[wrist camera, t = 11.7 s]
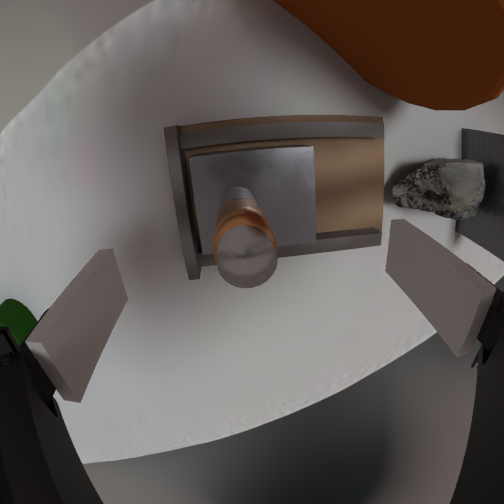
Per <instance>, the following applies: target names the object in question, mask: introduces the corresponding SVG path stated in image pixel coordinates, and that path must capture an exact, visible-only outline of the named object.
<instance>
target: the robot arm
mask: <svg viewBox="0 0 504 504" xmlns="http://www.w3.org/2000/svg"><path fill="white" fill-rule="evenodd" d="M385 271H386V272H387V273H388V274H389V275H390V277H391V278H392V279H393V280H394V281H395V282H396V283H397V284H398V286H399V287H400V288H401V289H402V290H403V291H404V292H405V294H406V295H407V296H408V297H409V298H410V299H411V300H412V302H413V303H414V304H415V305H416V306H417V308H418V309H419V310H420V311H421V312H422V313H423V315H424V316H425V317H426V318H427V320H428V321H429V322H430V323H431V324H432V326H433V327H434V328H435V329H436V331H437V332H438V333H439V334H440V335H441V337H442V338H443V339H444V341H445V342H446V343H447V345H448V346H449V347H450V348H451V350H452V351H453V352H454V353H455V355H456V356H457V357H460V356H462V355H465V354H467V353H469V352H471V351H472V349H473V347H474V345H475V342H476V340H477V339H478V340H479V341H480V342H481V346H480V349H479V351H478V353H477V355H476V357H475V359H474V361H473V363H472V365H471V367H474V365H475V363H477V362H478V366H477V369H478V370H477V383H476V393H475V401H474V409H473V416H472V422H471V428H470V433H469V438H468V443H467V448H466V452H465V456H464V460H463V464H462V468H461V471H460V475H459V479H458V482H457V484H456V488H455V491H454V494H453V497H452V499H451V502H450V504H504V292H501V291H500V290H499V289H498V288H497V287H495V286H494V285H493V284H492V283H491V282H490V281H489V280H487V279H486V278H485V277H482V275H481V274H480V273H479V272H476V270H475V269H474V268H472V267H471V266H470V265H469V264H467V263H465V262H464V261H462V260H461V259H460V258H458V257H457V256H456V255H454V254H453V253H452V252H450V251H449V250H448V249H446V248H445V247H444V246H442V245H441V244H439V243H438V242H437V241H435V240H434V239H432V238H431V237H430V236H428V235H427V234H425V233H424V232H422V231H421V230H420V229H418V228H417V227H415V226H414V225H412V224H411V223H409V222H408V221H406V220H405V219H397V220H391V226H390V237H389V246H388V255H387V263H386V270H385ZM127 300H128V297H127V294H126V291H125V288H124V285H123V282H122V279H121V276H120V272H119V269H118V266H117V263H116V259H115V256H114V252H113V249H106V250H99V251H98V252H97V253H96V254H95V255H94V256H93V257H92V259H91V260H90V261H89V262H88V263H87V264H86V265H85V266H84V268H83V269H82V270H81V271H80V272H79V273H78V274H77V276H76V277H75V278H74V279H73V280H72V281H71V283H70V284H69V285H68V286H67V287H66V289H65V290H64V291H63V292H62V294H61V295H60V296H59V297H58V298H57V300H56V301H55V302H54V303H53V305H52V306H51V307H50V308H49V309H47V310H46V311H45V312H44V314H43V315H42V316H41V318H40V320H38V322H37V323H36V324H35V327H33V328H32V330H31V331H30V332H29V334H28V335H27V336H26V338H25V339H24V341H23V342H22V343H21V345H20V346H19V345H18V344H17V342H16V340H15V338H14V337H13V335H12V333H11V331H10V329H9V328H8V327H6V326H1V327H0V504H103V502H102V500H101V499H100V497H99V495H98V493H97V492H96V490H95V488H94V486H93V484H92V482H91V481H90V479H89V477H88V475H87V473H86V471H85V469H84V467H83V465H82V463H81V461H80V458H79V456H78V454H77V452H76V450H75V447H74V445H73V443H72V440H71V438H70V436H69V433H68V431H67V428H66V425H65V423H64V420H63V417H62V415H61V412H60V409H59V406H58V403H57V401H56V400H55V398H54V397H53V395H54V393H55V390H57V391H58V392H59V394H60V395H61V396H62V398H63V399H64V400H67V401H73V402H79V403H81V400H82V398H83V395H84V393H85V390H86V388H87V385H88V383H89V381H90V378H91V376H92V373H93V371H94V369H95V367H96V364H97V362H98V360H99V358H100V355H101V353H102V351H103V349H104V347H105V344H106V342H107V340H108V338H109V336H110V334H111V332H112V330H113V328H114V325H115V323H116V321H117V319H118V317H119V315H120V313H121V311H122V309H123V307H124V305H125V303H126V301H127Z"/></svg>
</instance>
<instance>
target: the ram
mask: <svg viewBox="0 0 504 504" xmlns="http://www.w3.org/2000/svg"><path fill="white" fill-rule="evenodd" d="M189 165H190V172H191V180H192V187H193V194H194V201H195V208H196V215H197V221H198V228H199V234H200V240H201V246H202V252H203V255H206V254H213V256H214V260H215V262H216V264H217V268H218V271H219V273H220V275H221V276H222V277H223V279H224V280H225V281H227V282H228V283H230V284H231V285H234V286H236V287H241V288H252V287H256V286H259V285H261V284H263V283H264V282H266V281H267V280H268V279H269V278H270V277H271V276H272V275H273V273H274V271H275V269H276V266H277V253H278V247H277V246H286V245H294V244H303V243H312V242H316V198H315V169H314V148H313V146H309V145H304V144H297V145H279V146H265V147H253V148H242V149H232V150H223V151H215V152H207V153H199V154H193V155H192V156H190V157H189Z"/></svg>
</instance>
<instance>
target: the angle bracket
mask: <svg viewBox="0 0 504 504" xmlns="http://www.w3.org/2000/svg"><path fill="white" fill-rule="evenodd" d="M462 159H467V160H473V161H476V162H480V163H482V164H483V170H484V179H485V191H484V196H483V199H482V201H481V202H480V203H479V206H478V208H477V212H476V215H475V218H470V219H469V220H464V219H463V220H457V223H456V230H455V231H457V232H458V233H460V234H462V235H463V236H465V237H467V238H468V239H470V240H472V241H473V242H475V243H476V244H478V245H480V246H481V247H483V248H484V249H486V250H487V251H489V252H490V253H492V254H493V255H495V256H496V257H498V258H499V259H501V260H502V261H504V135H501V134H496V133H490V132H484V131H478V130H471V129H464V128H462Z"/></svg>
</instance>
